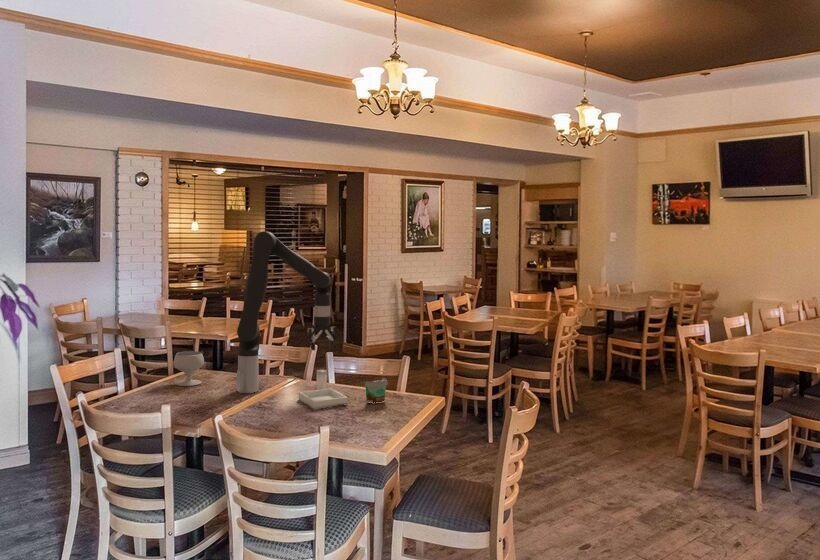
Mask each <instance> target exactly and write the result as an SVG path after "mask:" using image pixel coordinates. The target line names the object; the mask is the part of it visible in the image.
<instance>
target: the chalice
mask: <svg viewBox="0 0 820 560" xmlns="http://www.w3.org/2000/svg"><path fill="white" fill-rule="evenodd" d="M204 364H205V358H204V356H203V353H202V352H201V351H198V350H197V351H193V350H191V351H190V350H189V351H187V350H186V351H179V352H177V353H175V355H174V359H173V366H174V367H175V369H176V370H179V371H181V372H183V373H184V374H185V375H186V379H184V380H179V381H177V382H176V383H175V385H176V386H180V387H193V386H194V387H195V386H197V385H201V384H203V381H201V380H198V379H192V375H193V374H194V373H195V372H197V371H198V370H199V369H202V367H203V366H204Z"/></svg>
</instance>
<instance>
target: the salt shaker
mask: <svg viewBox="0 0 820 560" xmlns="http://www.w3.org/2000/svg"><path fill="white" fill-rule="evenodd" d="M327 372H328V371H327V369H316V390H323V389H327V384H328V383H327V377H328V376H327V374H328V373H327Z"/></svg>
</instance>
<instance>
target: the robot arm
mask: <svg viewBox="0 0 820 560" xmlns="http://www.w3.org/2000/svg"><path fill="white" fill-rule="evenodd" d="M252 250H253V252H252V260H251V264H250V267H249V270H248V271H249V272H248V276H247V279H246V284H245V291H244V299H243V306H242V307H243V308H242V313H241V316H240V319H239V323H238V325H237V330H236V334H237V337H238V338H239V341H238V349H237V370H236V391H237V392H238V393H239V394H254V392H255V393H257V391H258V392H259V361H260V360H259V358H260V357H259V351H260V326H259V324H258V320H259V314H260V310H261V308H262V305H263V303H264V300H265V297H266V294H267V293H266V292H267V288H268V280H269V260H270V257H271V254H272V255H273V256H275V257H277V258H279V259H280V260H281V261H283V262H284V263H285V264H286V265H287V266H289V267H290V268H291V269H293V270H294V271H295V272H296V273H298V274H300V275H301V276H303V277H305V278H306V279H308V281H309V282H311V283H312V284H313V285H315V294H314V309H313V327H311V328H310V327H307V329H306V331H307V332H306V341H307V342H310V349H311V350H312V351H316V340H318V339H319V338H322V337H324V338H325V337H326V338H328V349H329V350H332V349H333V348H334V341H335V340H337V339H338V334H337V333H338V329H337V327H336V326H334V325H333V326H331V313H332V312H331V306H330V305H331V295H330V293H331V286H332V285H331V283H332V282H331V280H332V279H331V276H330V274H329V273H328V272H325V271H322V270H320V269H318V267H316V266H315V265H314V263H312V262H310V261H309V260H307V259H306V258H305V257H303V256H302V255H299V254H298V253H296V252H295V251H293V250H291V249H290V248H289V247H288V246H286V245H285V244H284V243H283V242H281V240H280V239H278V237H276V236H275V235H274V234H273V233H272V232H271V231H263V230H262V231H260V232H258V233H257V234H256V235H255V236H254V239H253V249H252ZM313 332H314V333H313ZM330 332H332V335H331V333H330ZM312 334H313V335H312Z"/></svg>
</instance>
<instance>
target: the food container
mask: <svg viewBox="0 0 820 560" xmlns="http://www.w3.org/2000/svg"><path fill="white" fill-rule="evenodd" d="M388 385H389V384H388V380H387V378H386V377H383V376H382V377H381V379H377V380H375V379H374V380H372V381H365V382H364V387H365V397H366V399H365V400H366V403H367V402H373V403H374V402H375V403H376V402H382V401H384V400H385V398H386V389H387V386H388ZM384 402H385V401H384Z"/></svg>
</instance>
